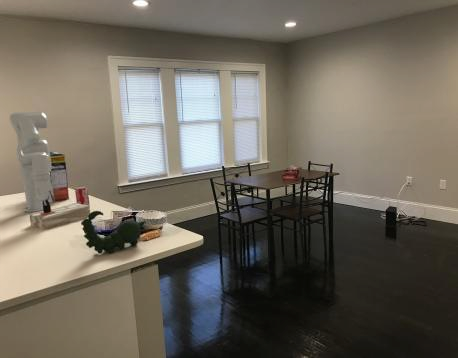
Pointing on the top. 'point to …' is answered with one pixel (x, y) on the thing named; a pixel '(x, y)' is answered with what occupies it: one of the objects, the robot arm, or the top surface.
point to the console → (59, 216)
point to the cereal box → (58, 177)
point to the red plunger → (47, 213)
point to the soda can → (82, 196)
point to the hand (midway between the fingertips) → (47, 212)
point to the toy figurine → (124, 234)
